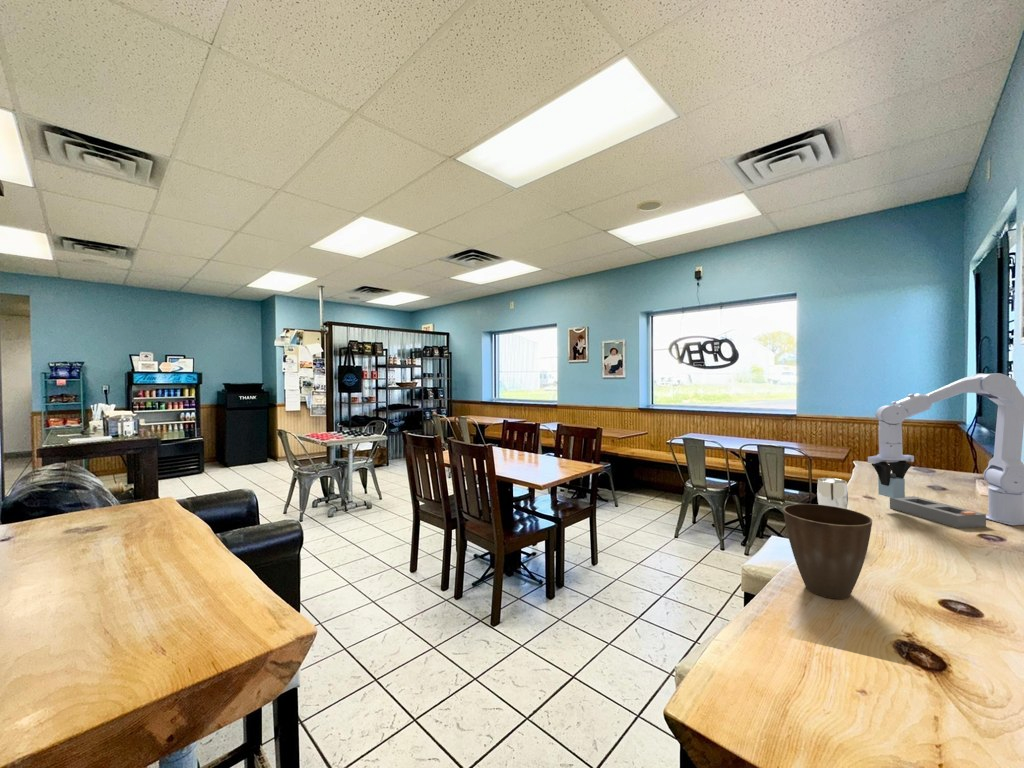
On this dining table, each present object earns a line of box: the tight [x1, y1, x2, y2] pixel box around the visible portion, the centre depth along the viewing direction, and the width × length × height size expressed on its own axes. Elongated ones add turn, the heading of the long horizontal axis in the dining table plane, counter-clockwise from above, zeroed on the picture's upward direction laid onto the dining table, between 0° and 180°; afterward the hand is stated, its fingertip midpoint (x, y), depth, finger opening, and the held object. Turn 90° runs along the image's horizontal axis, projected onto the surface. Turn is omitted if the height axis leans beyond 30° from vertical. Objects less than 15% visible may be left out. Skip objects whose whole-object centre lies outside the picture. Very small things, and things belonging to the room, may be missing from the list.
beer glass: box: [816, 477, 849, 509], centre depth 121 cm, size 7×7×15 cm
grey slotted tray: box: [889, 495, 987, 529], centre depth 133 cm, size 9×20×4 cm, turn 6°
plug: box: [877, 472, 906, 499], centre depth 139 cm, size 4×5×7 cm
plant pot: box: [782, 503, 873, 600], centre depth 89 cm, size 15×15×16 cm
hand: (891, 484), depth 139 cm, fingers closed on plug, 4 cm apart
